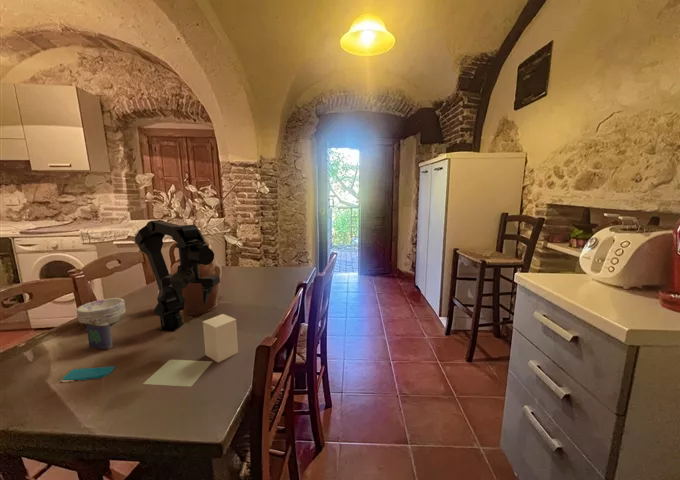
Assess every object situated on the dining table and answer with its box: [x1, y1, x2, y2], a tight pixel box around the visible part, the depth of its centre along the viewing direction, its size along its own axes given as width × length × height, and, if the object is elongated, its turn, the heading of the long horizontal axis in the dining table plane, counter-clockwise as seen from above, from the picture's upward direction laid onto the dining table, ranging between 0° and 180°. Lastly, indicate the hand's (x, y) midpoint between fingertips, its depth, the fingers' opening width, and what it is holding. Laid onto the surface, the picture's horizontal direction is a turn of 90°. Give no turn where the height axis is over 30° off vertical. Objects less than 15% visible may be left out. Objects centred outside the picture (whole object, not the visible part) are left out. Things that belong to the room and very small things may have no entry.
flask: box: [85, 318, 114, 351], centre depth 102 cm, size 9×3×11 cm, turn 74°
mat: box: [142, 359, 214, 388], centre depth 89 cm, size 14×12×1 cm
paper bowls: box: [75, 297, 126, 325], centre depth 122 cm, size 15×15×8 cm
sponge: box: [61, 366, 115, 381], centre depth 88 cm, size 2×12×6 cm
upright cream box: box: [202, 313, 239, 363], centre depth 98 cm, size 7×7×12 cm
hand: (193, 303), depth 108 cm, fingers open, 9 cm apart
